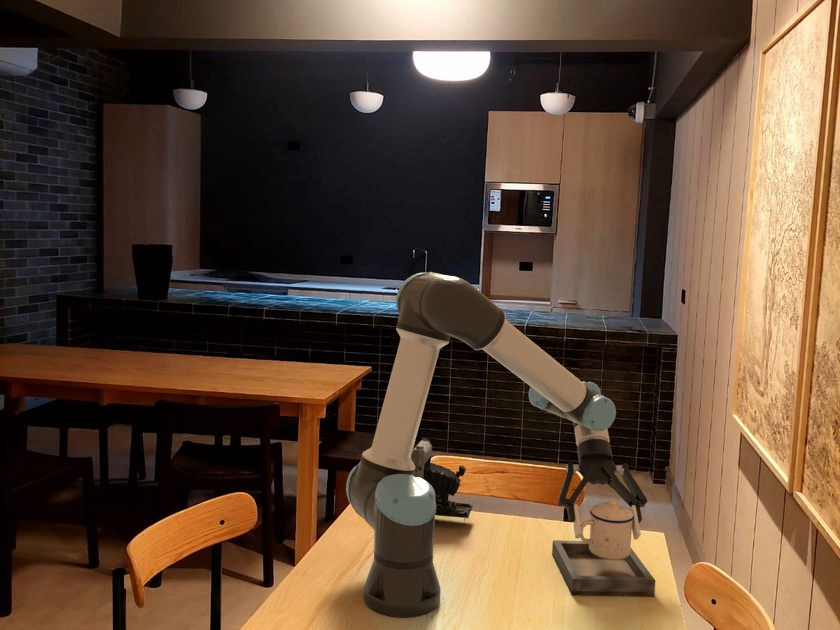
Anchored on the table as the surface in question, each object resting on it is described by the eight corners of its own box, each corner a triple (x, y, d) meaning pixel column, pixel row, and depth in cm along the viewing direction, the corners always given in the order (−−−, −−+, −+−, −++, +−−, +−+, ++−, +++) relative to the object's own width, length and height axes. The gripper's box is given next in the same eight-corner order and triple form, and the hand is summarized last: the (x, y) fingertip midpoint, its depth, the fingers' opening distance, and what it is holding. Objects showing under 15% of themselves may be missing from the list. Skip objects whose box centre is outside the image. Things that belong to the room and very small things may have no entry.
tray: (571, 595, 153) (572, 578, 153) (551, 555, 172) (552, 540, 172) (654, 596, 154) (655, 580, 154) (625, 556, 173) (626, 541, 173)
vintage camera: (466, 534, 183) (473, 454, 181) (404, 525, 186) (410, 446, 184) (471, 520, 193) (478, 444, 191) (412, 511, 196) (418, 436, 194)
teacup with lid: (618, 541, 169) (621, 491, 167) (639, 559, 160) (642, 506, 158) (568, 545, 166) (571, 494, 164) (587, 563, 157) (590, 509, 156)
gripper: (640, 454, 177) (659, 544, 163) (538, 451, 176) (548, 542, 162) (650, 438, 171) (669, 530, 157) (543, 435, 170) (554, 528, 156)
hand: (608, 536), depth 160 cm, fingers closed on teacup with lid, 12 cm apart
